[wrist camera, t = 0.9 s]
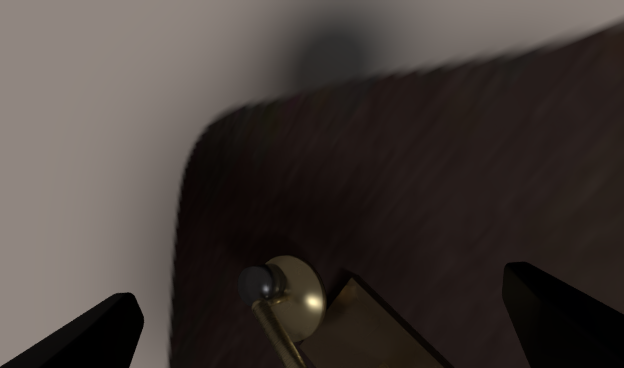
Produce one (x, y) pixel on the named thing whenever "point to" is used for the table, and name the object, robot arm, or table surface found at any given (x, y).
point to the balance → (330, 320)
